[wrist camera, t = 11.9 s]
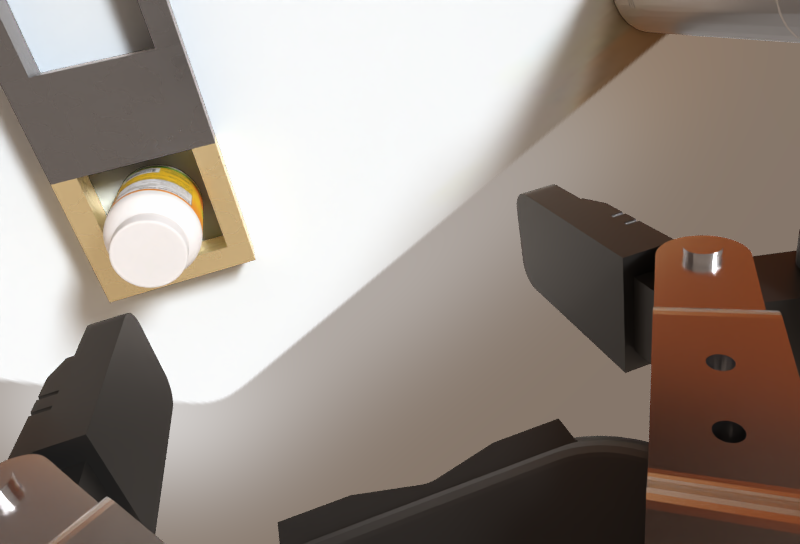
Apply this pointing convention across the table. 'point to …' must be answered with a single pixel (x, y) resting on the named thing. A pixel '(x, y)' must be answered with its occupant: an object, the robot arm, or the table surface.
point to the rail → (121, 134)
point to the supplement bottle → (154, 226)
